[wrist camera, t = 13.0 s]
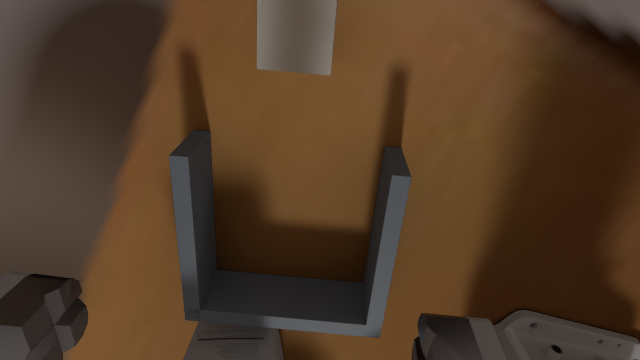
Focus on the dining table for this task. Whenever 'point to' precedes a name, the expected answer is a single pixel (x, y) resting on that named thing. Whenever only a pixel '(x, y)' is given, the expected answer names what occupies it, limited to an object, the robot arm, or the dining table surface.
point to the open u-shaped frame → (275, 290)
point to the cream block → (296, 35)
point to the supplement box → (234, 343)
